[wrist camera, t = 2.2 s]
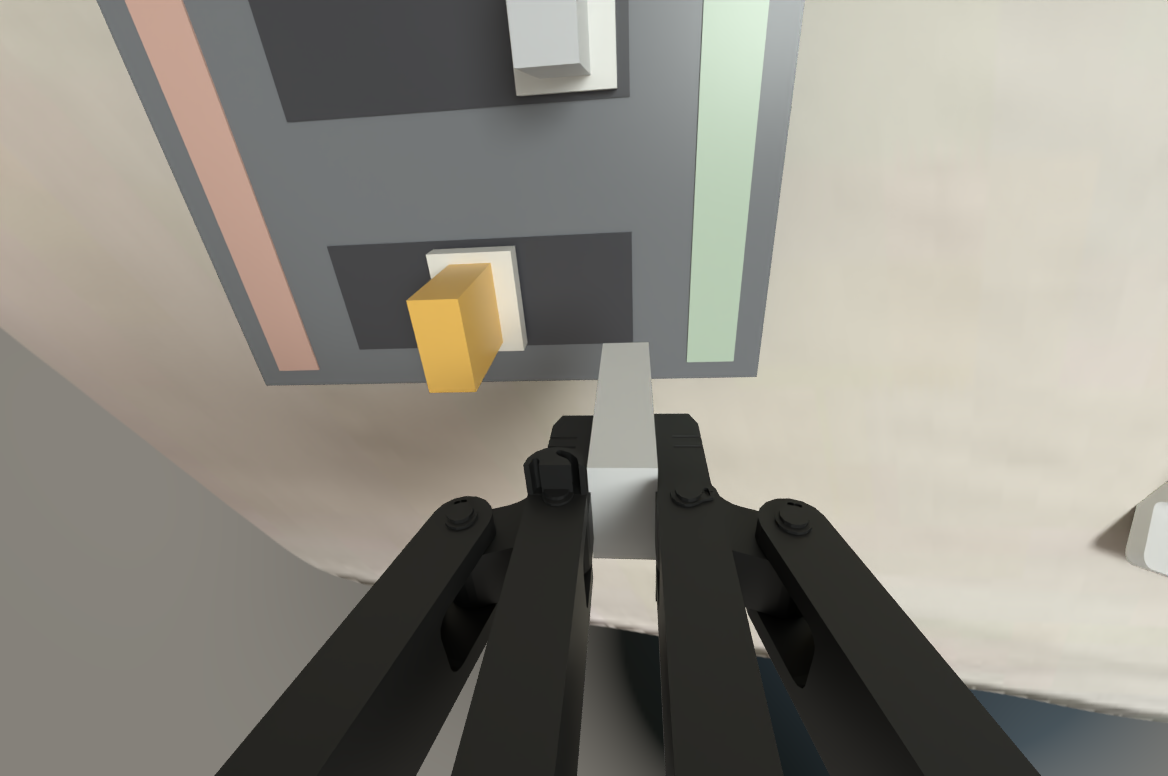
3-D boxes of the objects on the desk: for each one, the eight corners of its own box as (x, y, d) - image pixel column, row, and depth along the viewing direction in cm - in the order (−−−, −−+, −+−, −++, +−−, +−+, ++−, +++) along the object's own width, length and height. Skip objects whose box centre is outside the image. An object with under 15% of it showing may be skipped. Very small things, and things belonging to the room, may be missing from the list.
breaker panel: (125, -49, 21) (-152, -138, 13) (801, -127, 18) (922, -293, 11) (291, 366, 31) (185, 446, 23) (746, 356, 28) (789, 443, 20)
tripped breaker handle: (433, 249, 23) (377, 288, 18) (514, 245, 23) (481, 284, 18) (453, 344, 26) (409, 403, 20) (527, 342, 25) (501, 401, 20)
